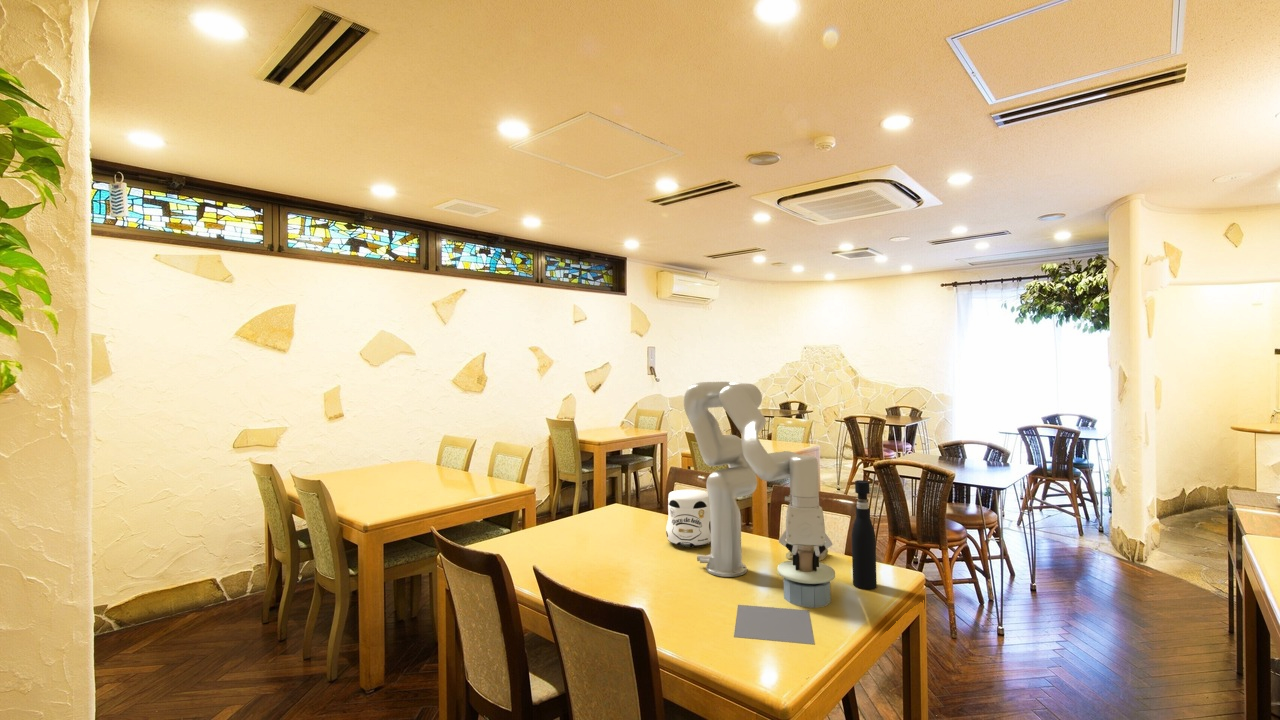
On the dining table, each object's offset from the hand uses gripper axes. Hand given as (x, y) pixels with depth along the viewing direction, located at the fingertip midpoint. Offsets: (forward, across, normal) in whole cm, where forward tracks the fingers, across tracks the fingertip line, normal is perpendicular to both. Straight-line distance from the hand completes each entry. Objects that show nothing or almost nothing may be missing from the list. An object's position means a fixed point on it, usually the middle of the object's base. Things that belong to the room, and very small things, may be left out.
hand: (805, 568), depth 149 cm
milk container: (+9, -38, +44) cm, 59 cm away
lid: (+1, 0, 0) cm, 1 cm away
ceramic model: (+9, +2, +37) cm, 38 cm away
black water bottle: (+9, +17, +14) cm, 24 cm away
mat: (+9, -9, -17) cm, 21 cm away
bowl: (+9, 0, 0) cm, 9 cm away
